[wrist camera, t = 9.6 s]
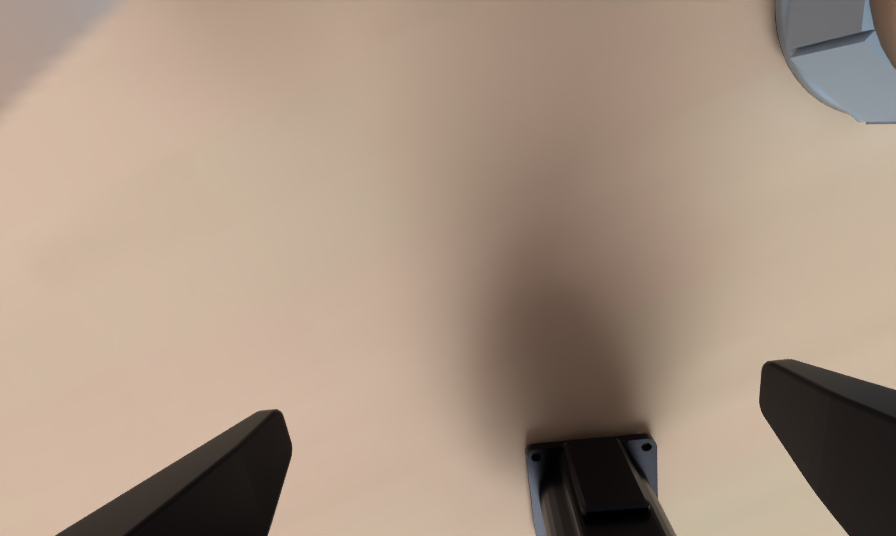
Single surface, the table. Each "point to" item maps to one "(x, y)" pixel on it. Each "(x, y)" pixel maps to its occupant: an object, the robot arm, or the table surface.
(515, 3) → the table surface
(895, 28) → the lid
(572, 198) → the table surface
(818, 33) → the bowl
